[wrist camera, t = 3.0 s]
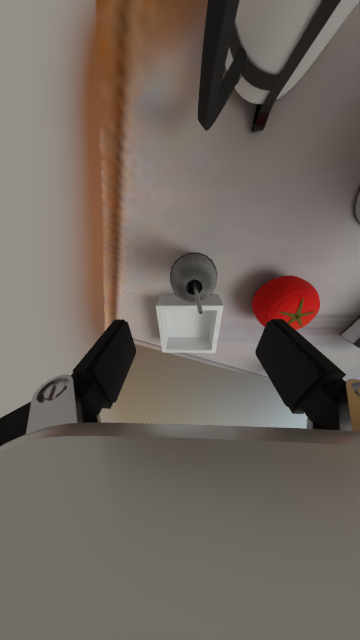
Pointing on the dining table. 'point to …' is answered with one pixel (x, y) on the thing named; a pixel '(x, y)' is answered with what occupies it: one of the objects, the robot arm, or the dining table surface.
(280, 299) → the tomato
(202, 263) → the beverage cup
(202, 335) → the box
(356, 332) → the tea box
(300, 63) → the coffee press
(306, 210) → the dining table surface
